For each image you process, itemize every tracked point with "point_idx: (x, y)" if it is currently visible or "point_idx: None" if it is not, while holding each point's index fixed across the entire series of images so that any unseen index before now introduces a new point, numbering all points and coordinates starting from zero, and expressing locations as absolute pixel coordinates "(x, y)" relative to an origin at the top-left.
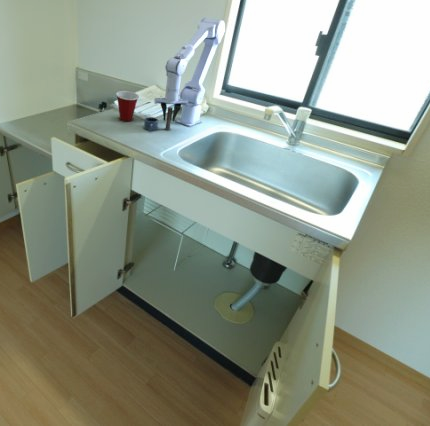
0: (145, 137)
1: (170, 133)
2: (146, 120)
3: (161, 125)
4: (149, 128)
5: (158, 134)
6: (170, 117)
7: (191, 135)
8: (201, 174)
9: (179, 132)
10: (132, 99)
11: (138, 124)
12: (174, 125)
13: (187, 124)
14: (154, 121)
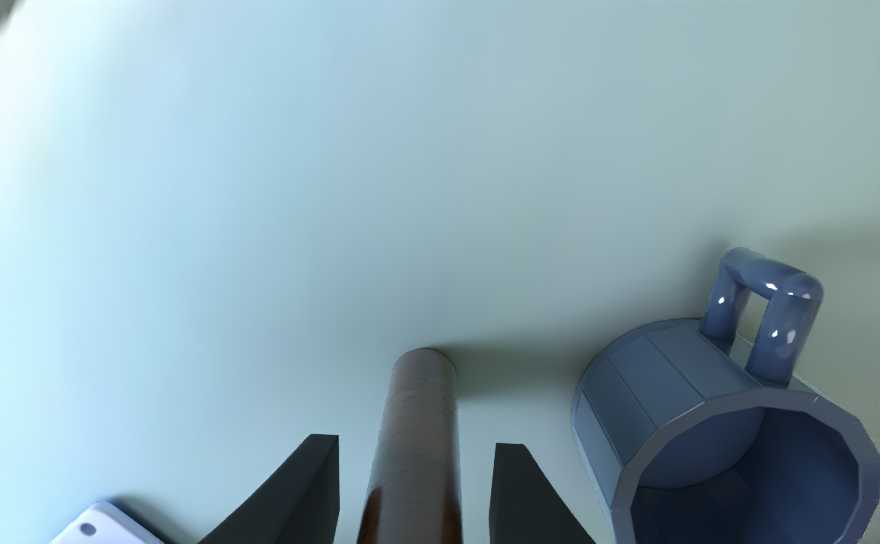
0: (866, 17)
1: (398, 232)
2: (862, 455)
3: None
4: (732, 334)
5: (603, 174)
6: (386, 495)
7: (61, 178)
8: None
9: (252, 283)
10: None
11: None
12: None
13: (120, 534)
14: (636, 519)
